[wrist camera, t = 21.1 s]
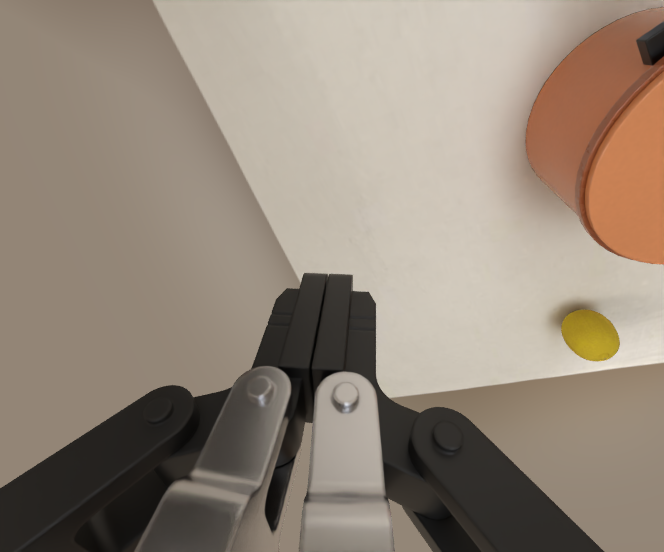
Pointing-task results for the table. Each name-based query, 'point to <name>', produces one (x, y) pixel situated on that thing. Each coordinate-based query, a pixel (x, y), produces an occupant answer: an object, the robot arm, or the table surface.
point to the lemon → (590, 335)
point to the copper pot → (608, 135)
